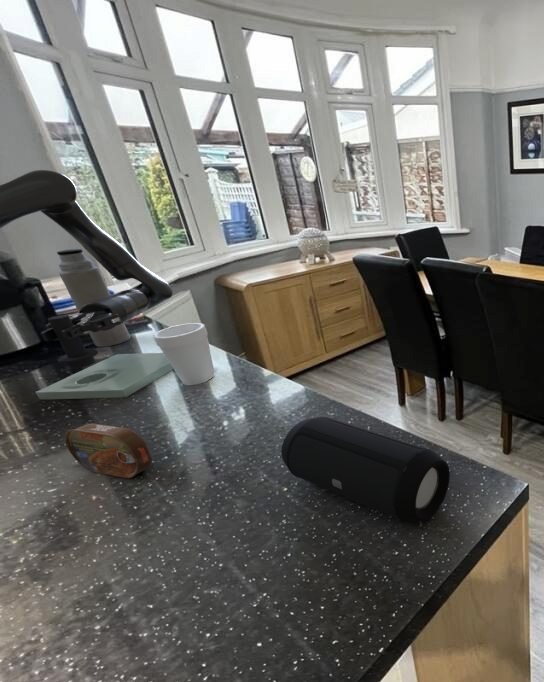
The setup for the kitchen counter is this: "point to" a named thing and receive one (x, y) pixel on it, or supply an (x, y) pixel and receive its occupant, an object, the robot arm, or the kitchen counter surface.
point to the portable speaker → (368, 467)
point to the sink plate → (110, 377)
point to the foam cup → (187, 351)
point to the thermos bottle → (88, 291)
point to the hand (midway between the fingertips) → (55, 336)
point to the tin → (109, 450)
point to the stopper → (71, 345)
